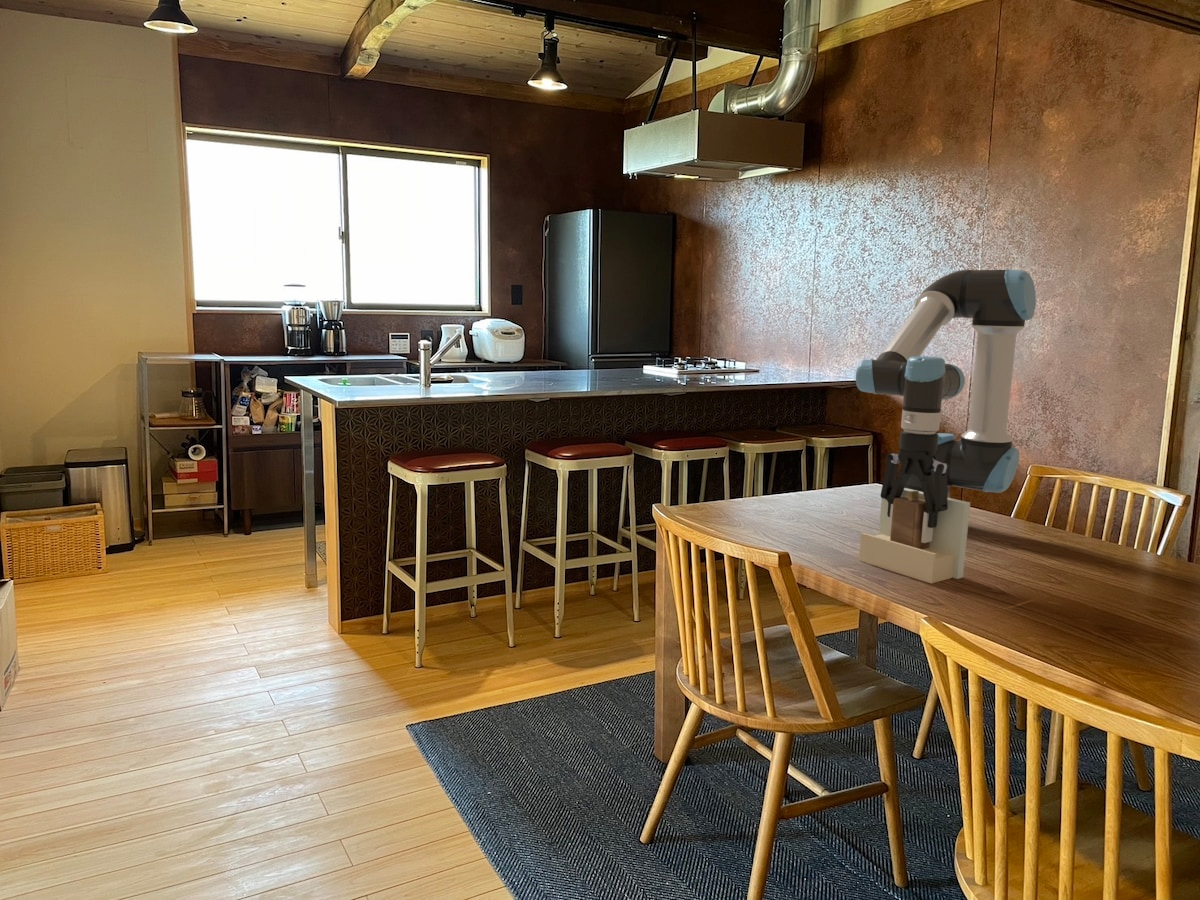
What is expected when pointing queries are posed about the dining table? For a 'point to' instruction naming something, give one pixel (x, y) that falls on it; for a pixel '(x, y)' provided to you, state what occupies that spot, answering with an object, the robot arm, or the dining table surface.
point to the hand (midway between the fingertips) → (909, 537)
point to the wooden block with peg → (908, 520)
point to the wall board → (929, 562)
